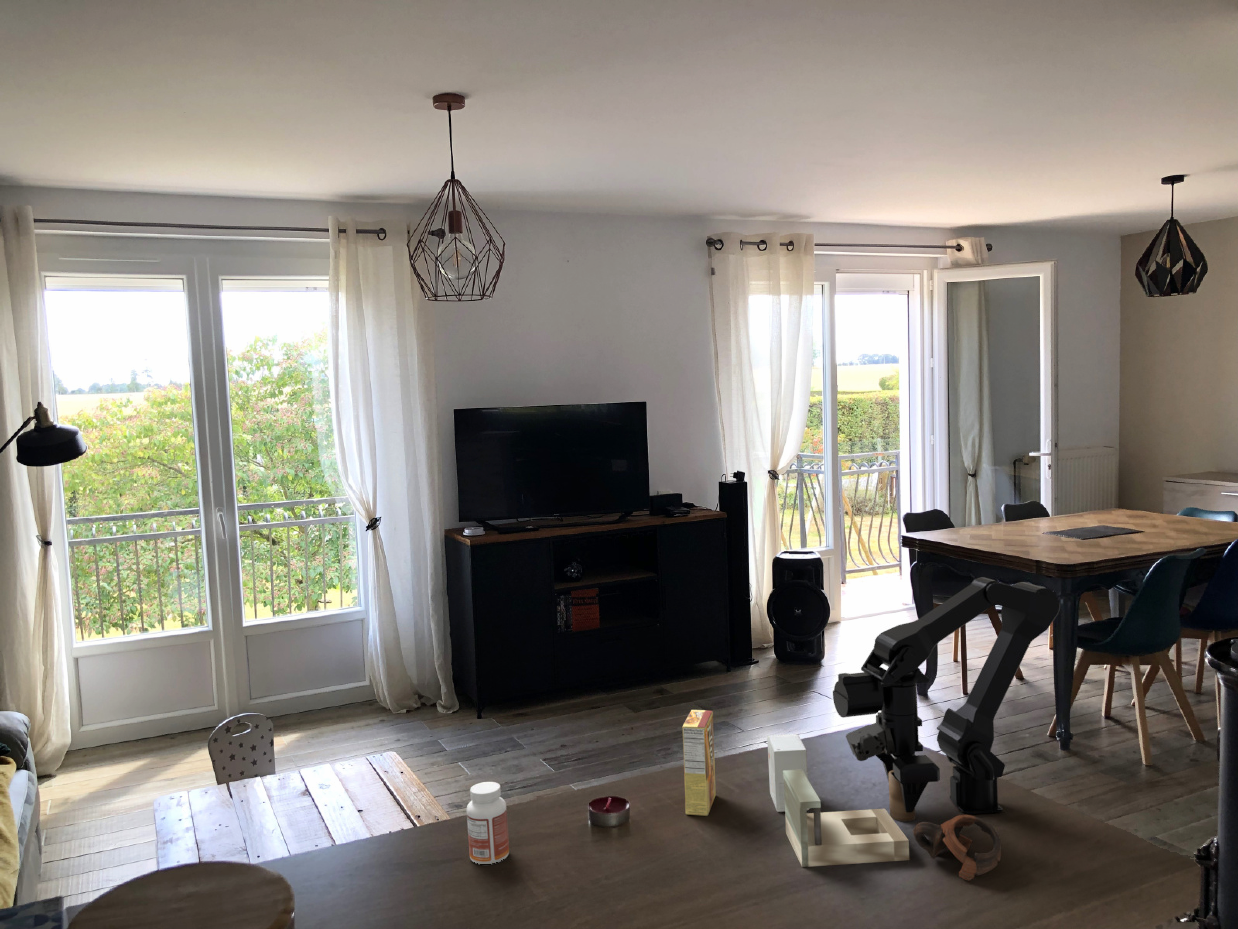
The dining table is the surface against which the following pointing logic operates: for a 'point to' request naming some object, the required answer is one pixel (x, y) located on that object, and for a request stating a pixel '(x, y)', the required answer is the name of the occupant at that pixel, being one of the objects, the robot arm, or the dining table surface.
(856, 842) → the shelter
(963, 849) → the pottery mug
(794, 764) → the small box
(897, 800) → the peg
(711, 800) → the candy box
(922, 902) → the dining table surface
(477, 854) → the pill bottle
